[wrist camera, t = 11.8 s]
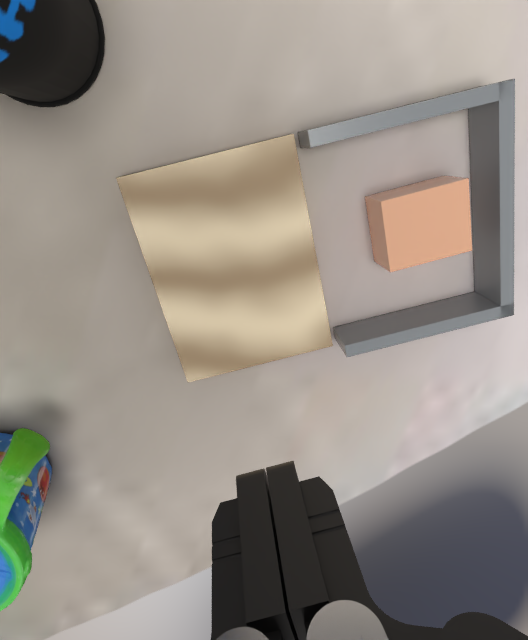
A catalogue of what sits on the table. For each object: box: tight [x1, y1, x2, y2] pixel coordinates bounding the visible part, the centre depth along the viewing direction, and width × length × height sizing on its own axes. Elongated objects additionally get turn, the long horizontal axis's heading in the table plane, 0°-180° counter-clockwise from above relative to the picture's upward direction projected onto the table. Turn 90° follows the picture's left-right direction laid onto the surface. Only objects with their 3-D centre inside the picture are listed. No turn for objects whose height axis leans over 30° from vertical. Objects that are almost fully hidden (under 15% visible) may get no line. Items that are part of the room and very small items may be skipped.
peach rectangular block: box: [365, 176, 472, 272], centre depth 31 cm, size 5×6×4 cm
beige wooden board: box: [116, 134, 333, 382], centre depth 31 cm, size 16×12×1 cm
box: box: [298, 79, 515, 357], centre depth 30 cm, size 16×13×4 cm
